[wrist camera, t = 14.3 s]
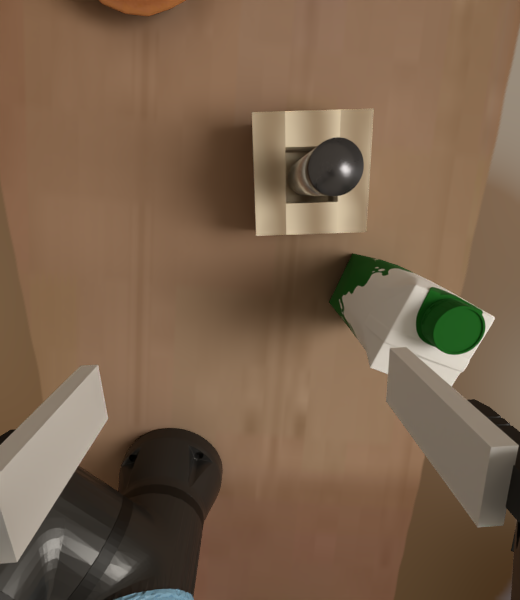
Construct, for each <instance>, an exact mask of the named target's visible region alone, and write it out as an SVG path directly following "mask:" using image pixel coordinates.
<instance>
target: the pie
mask: <svg viewBox="0 0 520 600" xmlns="http://www.w3.org/2000/svg"><path fill="white" fill-rule="evenodd" d="M99 1H100V2H101V3H102V4H104V5H106V6H108V7H111V8H113V9H115V10H118V11H120V12H122V13H124V14H132V15H140V16H151V15H154V14H157V13H160V12H163V11H166V10H169V9H171V8H173V7H175V6H177V5H178V4H180V3H182V2H184V1H186V0H99Z"/></svg>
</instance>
